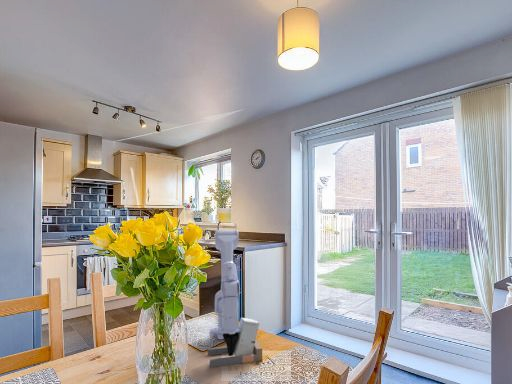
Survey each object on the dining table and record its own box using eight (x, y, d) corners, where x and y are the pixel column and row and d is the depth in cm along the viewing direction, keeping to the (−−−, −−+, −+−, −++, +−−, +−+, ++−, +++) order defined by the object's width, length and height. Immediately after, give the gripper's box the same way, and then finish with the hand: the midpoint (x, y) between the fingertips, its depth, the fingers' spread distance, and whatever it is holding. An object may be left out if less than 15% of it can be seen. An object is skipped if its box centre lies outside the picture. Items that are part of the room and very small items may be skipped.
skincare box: (236, 357, 103) (244, 320, 106) (232, 352, 108) (240, 317, 110) (252, 358, 105) (259, 323, 108) (248, 353, 110) (255, 319, 112)
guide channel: (207, 354, 109) (207, 342, 110) (255, 348, 113) (255, 337, 114) (210, 366, 100) (210, 354, 100) (262, 360, 104) (262, 348, 105)
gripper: (210, 321, 102) (210, 362, 101) (252, 317, 105) (252, 357, 104) (209, 314, 109) (208, 353, 108) (248, 310, 112) (248, 348, 111)
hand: (230, 354), depth 106 cm, fingers closed
